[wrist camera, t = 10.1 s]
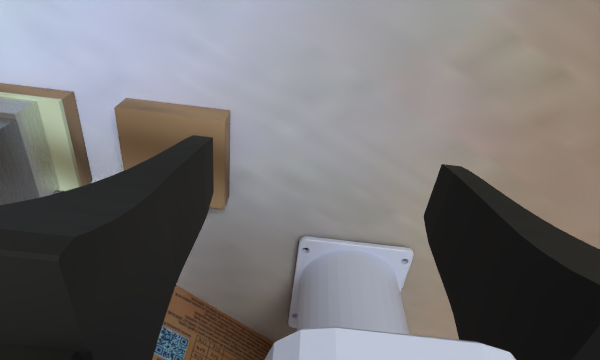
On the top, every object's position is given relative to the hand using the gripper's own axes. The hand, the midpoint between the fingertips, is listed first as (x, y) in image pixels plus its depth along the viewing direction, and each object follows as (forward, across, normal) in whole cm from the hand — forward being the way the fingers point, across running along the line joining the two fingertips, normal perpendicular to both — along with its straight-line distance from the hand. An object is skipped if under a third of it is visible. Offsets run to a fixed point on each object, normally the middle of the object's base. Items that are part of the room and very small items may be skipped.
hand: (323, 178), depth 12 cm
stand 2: (+10, +8, +6) cm, 14 cm away
